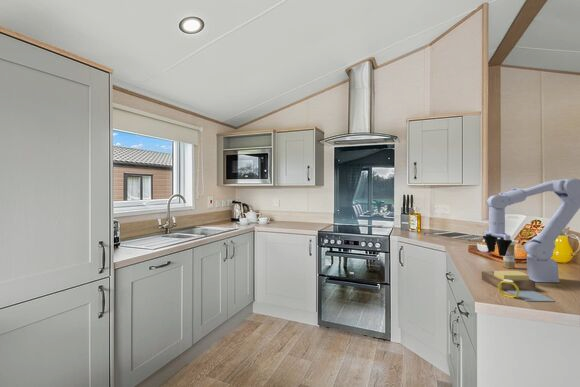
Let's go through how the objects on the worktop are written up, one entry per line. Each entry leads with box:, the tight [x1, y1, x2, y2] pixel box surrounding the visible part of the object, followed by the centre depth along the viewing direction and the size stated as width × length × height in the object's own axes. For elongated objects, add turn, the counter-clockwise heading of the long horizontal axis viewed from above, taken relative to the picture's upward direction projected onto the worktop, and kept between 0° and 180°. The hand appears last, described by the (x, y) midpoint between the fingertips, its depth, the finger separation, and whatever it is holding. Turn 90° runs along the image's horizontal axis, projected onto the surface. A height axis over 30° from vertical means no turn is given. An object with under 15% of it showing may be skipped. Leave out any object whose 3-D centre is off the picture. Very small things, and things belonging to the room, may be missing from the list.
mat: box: [505, 290, 556, 303], centre depth 101 cm, size 9×10×1 cm
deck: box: [481, 270, 537, 292], centre depth 113 cm, size 12×13×4 cm
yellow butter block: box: [494, 270, 529, 281], centre depth 110 cm, size 9×6×2 cm, turn 84°
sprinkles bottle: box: [502, 239, 516, 270], centre depth 135 cm, size 5×5×14 cm
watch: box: [497, 279, 519, 299], centre depth 101 cm, size 6×3×6 cm, turn 37°
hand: (496, 253), depth 122 cm, fingers open, 7 cm apart
